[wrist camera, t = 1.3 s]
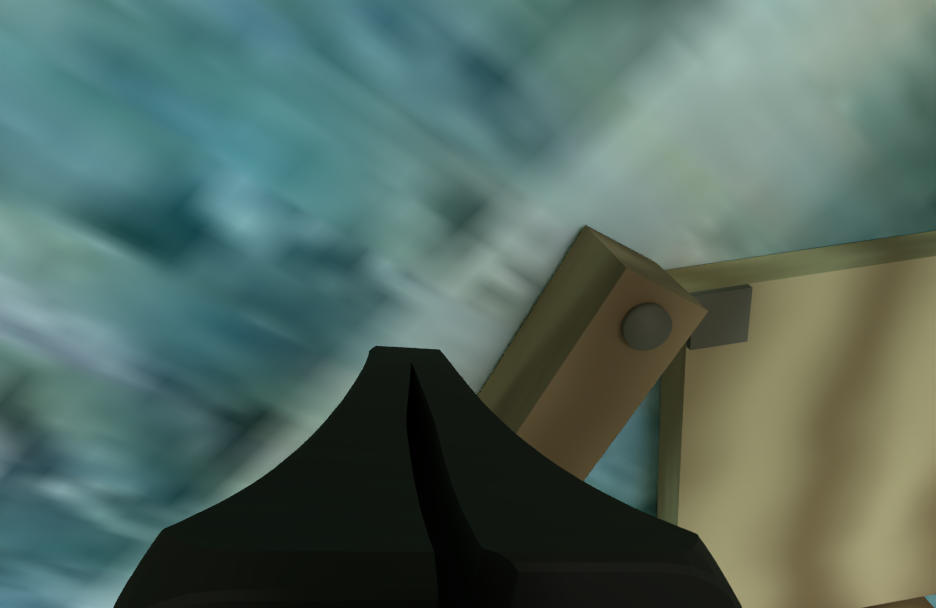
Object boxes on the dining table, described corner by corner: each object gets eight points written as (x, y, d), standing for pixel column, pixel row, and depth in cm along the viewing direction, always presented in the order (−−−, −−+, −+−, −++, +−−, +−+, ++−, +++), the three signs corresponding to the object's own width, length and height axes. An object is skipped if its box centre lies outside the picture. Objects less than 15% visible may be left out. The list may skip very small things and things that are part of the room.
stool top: (1006, 220, 23) (1121, 258, 20) (902, 605, 32) (968, 680, 28) (664, 270, 22) (717, 319, 19) (652, 651, 31) (688, 735, 27)
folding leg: (655, 262, 22) (713, 315, 18) (511, 473, 25) (534, 557, 21) (585, 224, 21) (630, 272, 17) (444, 448, 24) (456, 531, 20)
